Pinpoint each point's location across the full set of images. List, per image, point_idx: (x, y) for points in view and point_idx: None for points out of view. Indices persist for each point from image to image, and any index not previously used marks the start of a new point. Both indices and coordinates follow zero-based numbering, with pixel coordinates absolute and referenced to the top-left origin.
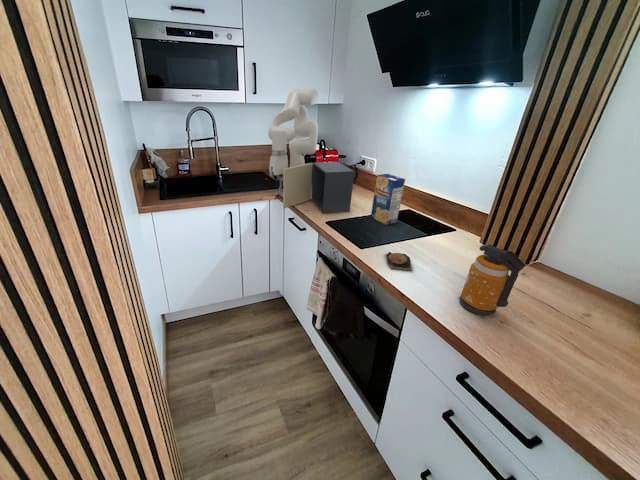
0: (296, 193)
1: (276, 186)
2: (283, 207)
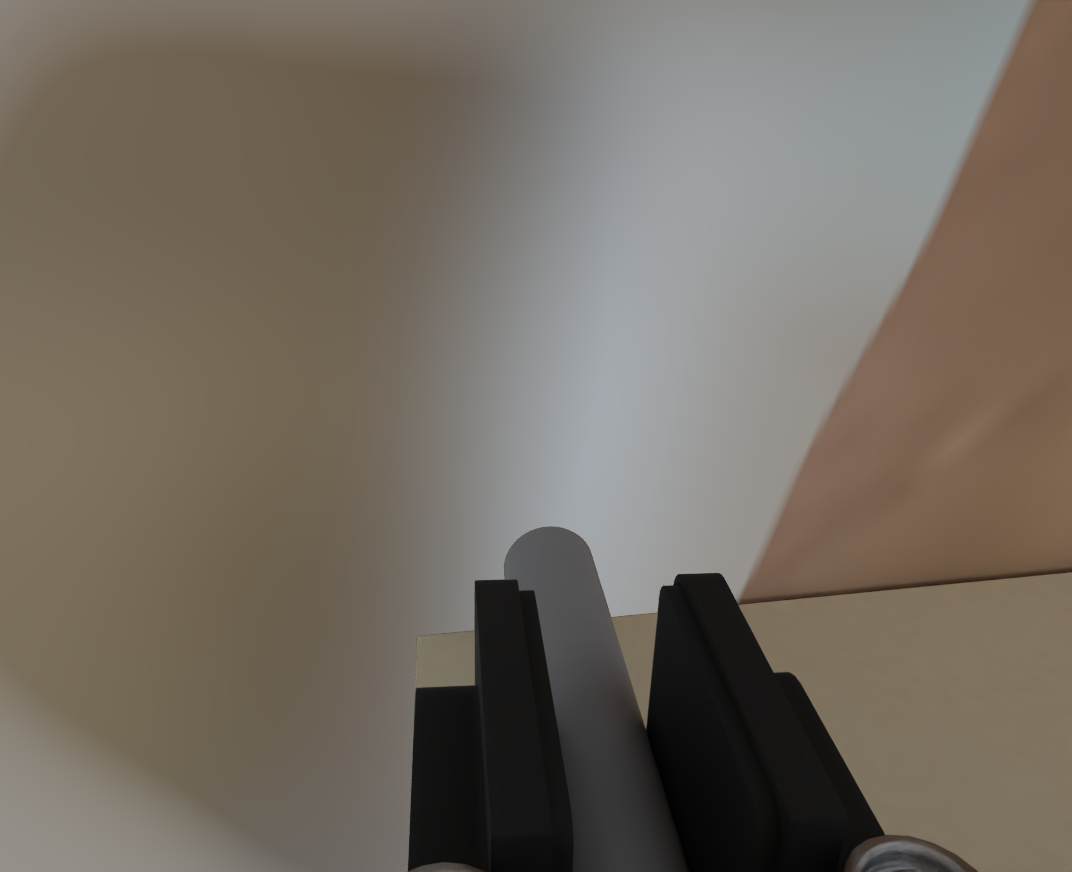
0: None
1: (475, 654)
2: (417, 654)
